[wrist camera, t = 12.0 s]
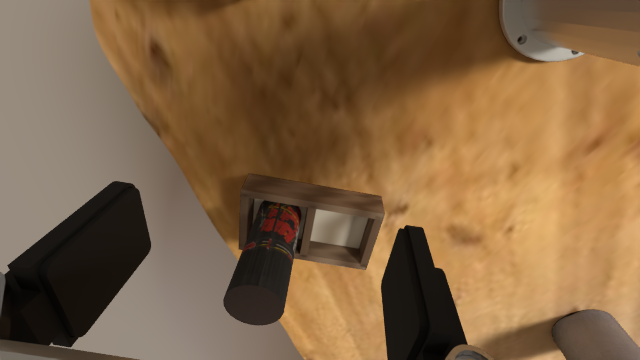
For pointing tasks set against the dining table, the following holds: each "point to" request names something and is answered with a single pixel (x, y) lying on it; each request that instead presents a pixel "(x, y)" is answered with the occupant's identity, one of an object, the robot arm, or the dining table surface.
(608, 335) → the pillar candle
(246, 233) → the divided compartment tray
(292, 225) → the deodorant
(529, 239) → the dining table surface
